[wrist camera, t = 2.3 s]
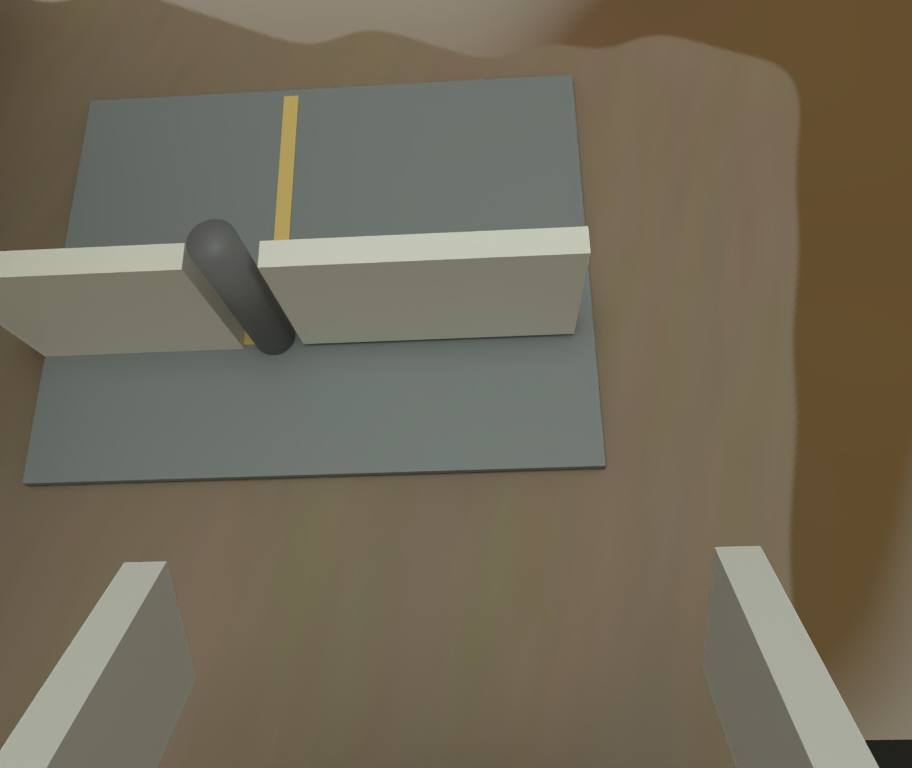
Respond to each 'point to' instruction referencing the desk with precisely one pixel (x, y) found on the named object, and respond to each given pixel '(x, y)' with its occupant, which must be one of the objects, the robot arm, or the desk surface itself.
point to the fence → (142, 297)
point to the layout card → (326, 216)
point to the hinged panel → (429, 284)
